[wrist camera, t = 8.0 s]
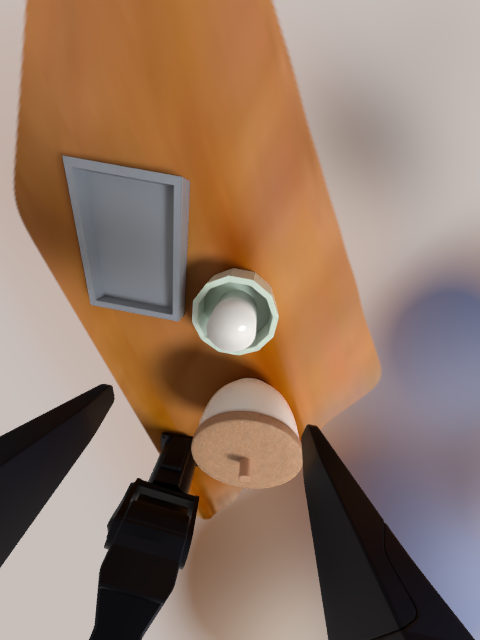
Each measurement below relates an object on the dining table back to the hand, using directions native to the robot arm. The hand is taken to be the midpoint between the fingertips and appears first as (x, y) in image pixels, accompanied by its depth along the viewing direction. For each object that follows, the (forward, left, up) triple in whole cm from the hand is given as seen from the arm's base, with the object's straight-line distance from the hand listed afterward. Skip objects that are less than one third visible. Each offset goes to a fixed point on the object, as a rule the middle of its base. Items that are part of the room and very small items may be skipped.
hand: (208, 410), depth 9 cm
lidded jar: (-12, -3, -13) cm, 18 cm away
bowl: (0, 0, -13) cm, 13 cm away
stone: (0, 0, -12) cm, 12 cm away
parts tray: (+4, +10, -13) cm, 17 cm away
